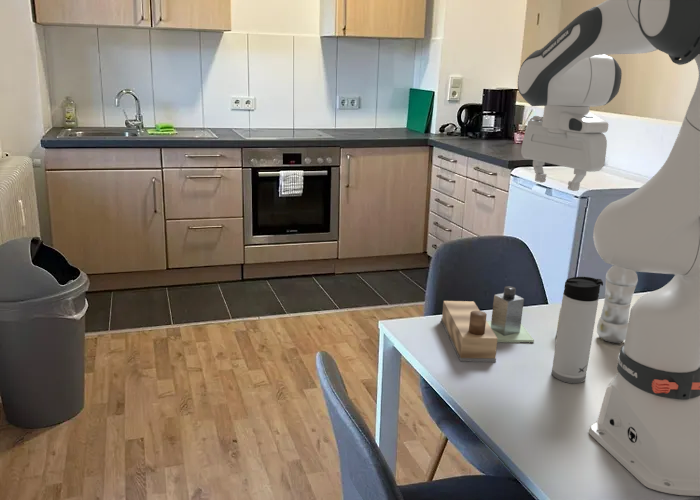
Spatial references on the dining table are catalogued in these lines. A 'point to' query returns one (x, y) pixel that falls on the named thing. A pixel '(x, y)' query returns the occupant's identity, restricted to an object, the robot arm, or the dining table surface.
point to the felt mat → (514, 336)
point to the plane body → (469, 331)
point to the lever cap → (507, 312)
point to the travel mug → (576, 328)
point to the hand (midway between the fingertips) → (556, 185)
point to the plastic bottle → (616, 304)
